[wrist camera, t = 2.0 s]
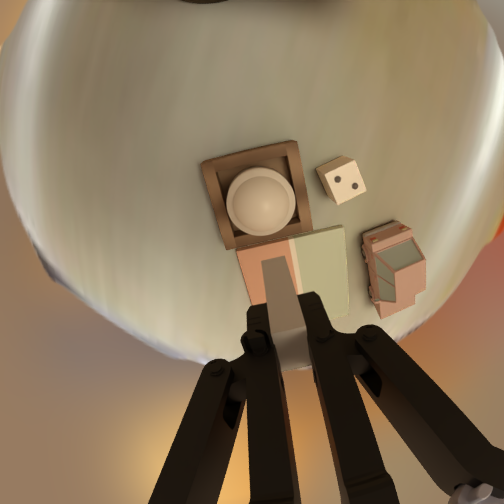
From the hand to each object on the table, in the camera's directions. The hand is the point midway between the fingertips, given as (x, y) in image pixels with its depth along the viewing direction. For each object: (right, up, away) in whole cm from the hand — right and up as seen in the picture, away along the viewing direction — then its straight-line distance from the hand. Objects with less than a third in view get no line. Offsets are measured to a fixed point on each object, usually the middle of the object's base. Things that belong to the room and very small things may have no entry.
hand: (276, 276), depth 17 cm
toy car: (+21, 0, +25) cm, 33 cm away
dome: (-1, +9, +17) cm, 19 cm away
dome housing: (-1, +10, +19) cm, 21 cm away
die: (+10, +12, +18) cm, 24 cm away
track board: (+6, -4, +26) cm, 27 cm away
